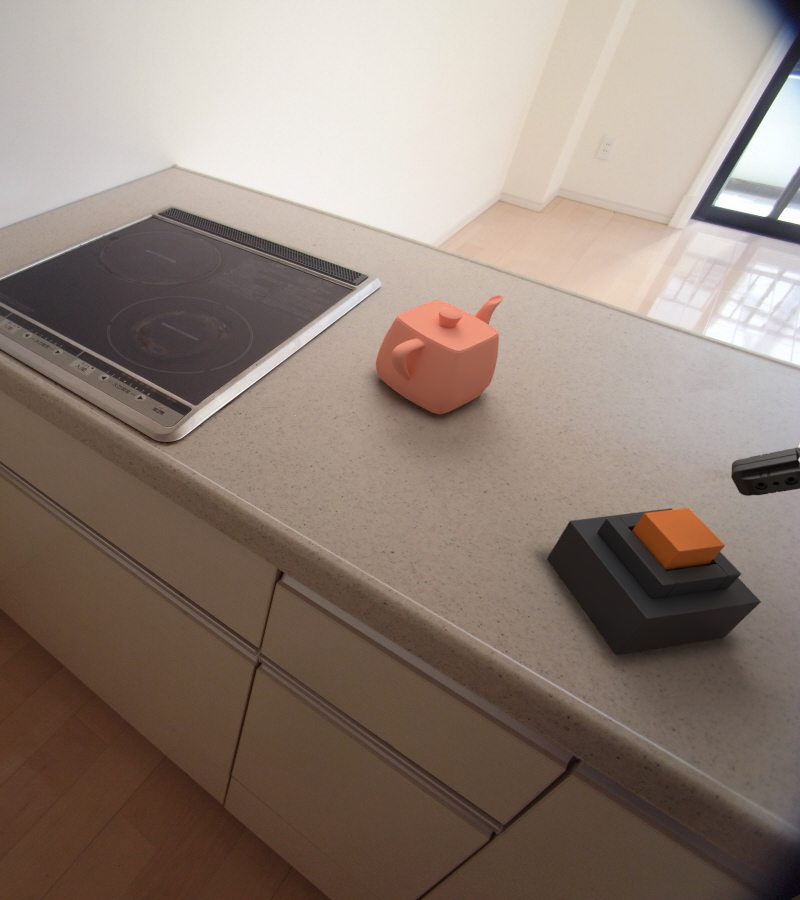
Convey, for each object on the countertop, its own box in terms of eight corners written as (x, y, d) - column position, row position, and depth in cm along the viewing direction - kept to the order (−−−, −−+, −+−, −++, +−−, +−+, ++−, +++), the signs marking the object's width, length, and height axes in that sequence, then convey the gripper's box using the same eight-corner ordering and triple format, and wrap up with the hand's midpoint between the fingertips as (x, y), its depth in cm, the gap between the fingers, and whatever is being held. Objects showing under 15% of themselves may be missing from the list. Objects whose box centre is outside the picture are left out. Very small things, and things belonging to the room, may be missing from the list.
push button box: (724, 638, 53) (776, 587, 49) (615, 655, 52) (659, 605, 47) (643, 545, 61) (682, 493, 56) (546, 558, 59) (578, 506, 55)
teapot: (346, 385, 79) (362, 309, 72) (442, 341, 87) (465, 269, 80) (418, 436, 72) (444, 358, 65) (516, 384, 80) (548, 309, 73)
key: (709, 564, 51) (726, 545, 49) (664, 570, 50) (679, 551, 49) (673, 526, 54) (688, 507, 52) (630, 532, 53) (644, 512, 52)
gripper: (1086, 292, 37) (717, 391, 50) (1181, 411, 28) (708, 492, 41) (1125, 399, 38) (757, 468, 51) (1227, 542, 30) (756, 581, 43)
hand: (736, 479), depth 46 cm, fingers closed
